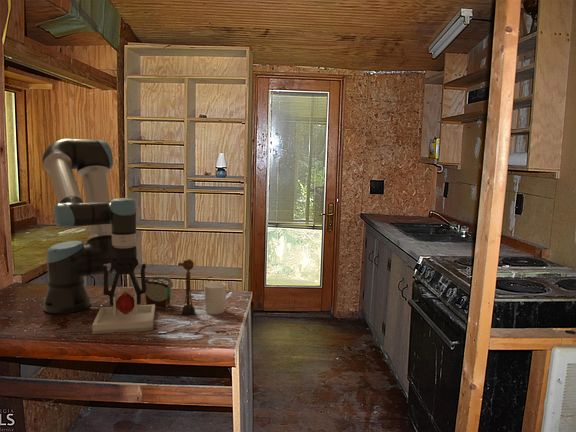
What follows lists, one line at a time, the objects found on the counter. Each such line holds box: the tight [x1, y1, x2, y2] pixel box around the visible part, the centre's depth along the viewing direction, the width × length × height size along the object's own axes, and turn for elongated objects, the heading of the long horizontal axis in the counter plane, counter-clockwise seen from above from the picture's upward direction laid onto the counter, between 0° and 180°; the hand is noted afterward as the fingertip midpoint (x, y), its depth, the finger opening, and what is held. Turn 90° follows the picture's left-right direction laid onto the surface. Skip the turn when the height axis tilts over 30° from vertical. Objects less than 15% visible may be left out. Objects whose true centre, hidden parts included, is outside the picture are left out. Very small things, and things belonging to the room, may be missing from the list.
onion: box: [116, 291, 134, 315], centre depth 148 cm, size 6×6×8 cm
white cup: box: [203, 281, 227, 315], centre depth 161 cm, size 8×8×10 cm
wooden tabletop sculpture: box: [177, 258, 196, 317], centre depth 157 cm, size 6×5×20 cm
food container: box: [144, 276, 174, 310], centre depth 166 cm, size 12×6×10 cm, turn 65°
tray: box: [91, 304, 156, 335], centre depth 149 cm, size 18×16×3 cm
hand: (125, 313), depth 148 cm, fingers closed on onion, 6 cm apart
